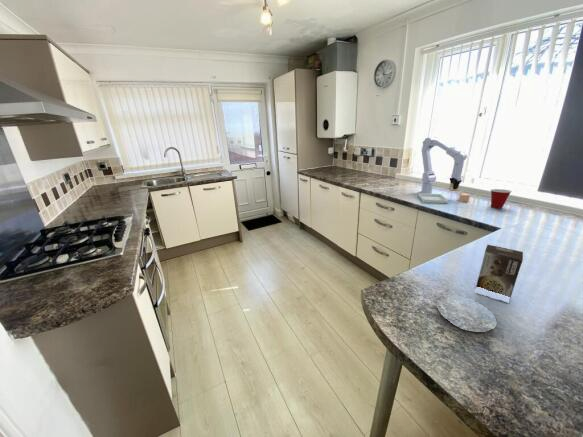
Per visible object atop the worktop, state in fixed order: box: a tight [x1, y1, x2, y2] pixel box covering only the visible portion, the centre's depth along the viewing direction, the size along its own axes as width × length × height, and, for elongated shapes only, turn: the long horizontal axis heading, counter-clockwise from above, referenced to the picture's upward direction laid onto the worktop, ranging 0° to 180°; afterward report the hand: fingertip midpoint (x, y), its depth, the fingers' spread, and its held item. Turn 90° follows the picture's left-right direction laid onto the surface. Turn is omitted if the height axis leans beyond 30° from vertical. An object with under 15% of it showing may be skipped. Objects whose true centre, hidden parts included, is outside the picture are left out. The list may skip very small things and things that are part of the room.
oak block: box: [448, 183, 460, 192], centre depth 180 cm, size 4×4×5 cm
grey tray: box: [417, 192, 449, 205], centre depth 183 cm, size 18×16×2 cm
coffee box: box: [475, 244, 524, 298], centre depth 79 cm, size 9×6×16 cm
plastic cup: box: [490, 188, 512, 210], centre depth 161 cm, size 11×11×12 cm
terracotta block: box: [458, 192, 470, 203], centre depth 178 cm, size 4×4×5 cm
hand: (453, 188), depth 180 cm, fingers closed on oak block, 4 cm apart
